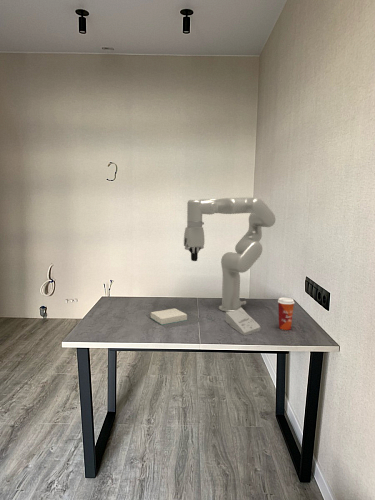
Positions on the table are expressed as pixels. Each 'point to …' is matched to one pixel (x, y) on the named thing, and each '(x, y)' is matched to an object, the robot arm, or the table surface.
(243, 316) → the ramp
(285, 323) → the paper cup
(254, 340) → the table surface
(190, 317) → the mat
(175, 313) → the tile
